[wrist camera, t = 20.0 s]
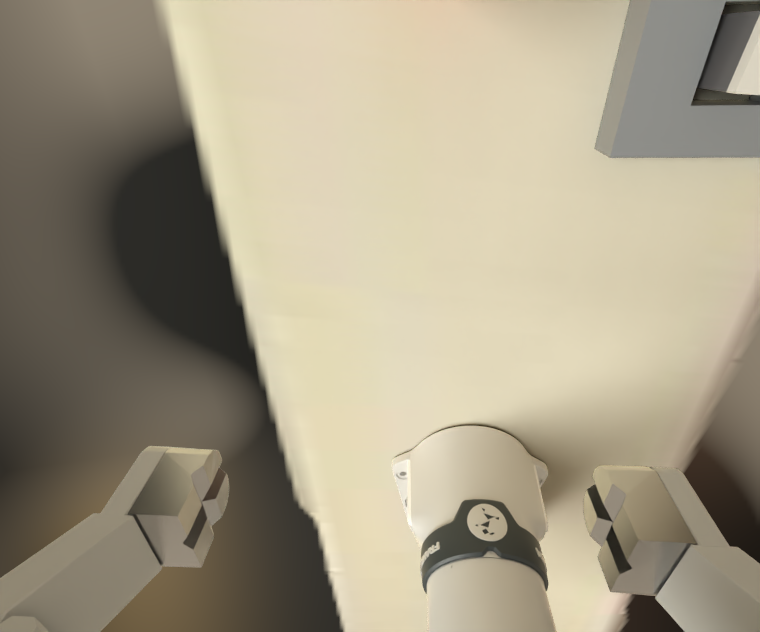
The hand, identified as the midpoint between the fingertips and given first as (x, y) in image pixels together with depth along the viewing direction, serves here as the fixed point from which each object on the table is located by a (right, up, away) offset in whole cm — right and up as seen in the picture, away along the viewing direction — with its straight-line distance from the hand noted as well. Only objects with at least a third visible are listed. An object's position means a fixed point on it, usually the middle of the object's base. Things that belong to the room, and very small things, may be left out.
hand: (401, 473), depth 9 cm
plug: (+23, +21, +19) cm, 37 cm away
